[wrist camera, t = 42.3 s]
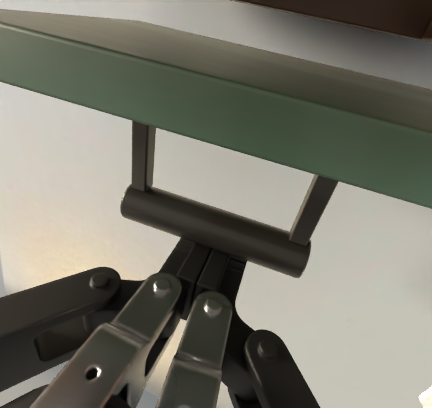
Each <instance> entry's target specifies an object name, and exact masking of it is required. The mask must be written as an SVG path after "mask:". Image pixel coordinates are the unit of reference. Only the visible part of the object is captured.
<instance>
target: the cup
mask: <svg viewBox="0 0 432 408" xmlns="http://www.w3.org/2000/svg"><path fill="white" fill-rule="evenodd" d="M419 399H420V402H421V404H422V405H423V407H424V408H432V387H430V388H429V389H428V390H426V391H425V392H424V393H422V394H421V395H420V396H419Z"/></svg>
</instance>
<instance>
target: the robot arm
mask: <svg viewBox="0 0 432 408" xmlns="http://www.w3.org/2000/svg"><path fill="white" fill-rule="evenodd" d="M246 262H247V261H246V260H244V259H241V258H238V257H235V256H232V255H229V254H227V253H224V252H221V251H218V250H215V249H212V248H210V247H207V246H204V245H201V244H198V243H195V242H193V241H190V240H187V239H184V238H181V239H180V241H179V242H178V243H177V245H176V247H175V248H174V250H173V251H172V253H171V254H170V256H169V257H168V259H167V260H166V262H165V263H164V265H163V266H162V268H161V269H160V271H159V272H158V273H155V274H153V275H151V276H149V277H148V278H147V279H146V280H142V281H133V280H121V278H120V275H119V274H118V272H117V271H115V270H114V269H112V268H108V267H97V268H94V269H90V270H87V271H84V272H81V273H78V274H75V275H71V276H68V277H65V278H62V279H59V280H55V281H52V282H49V283H46V284H43V285H40V286H36V287H33V288H30V289H27V290H24V291H21V292H17V293H14V294H11V295H8V296H5V297H1V298H0V392H1V391H4V390H6V389H8V388H10V387H12V386H14V385H16V384H18V383H20V382H23V381H25V380H27V379H29V378H31V377H33V376H36V375H38V374H40V373H42V372H44V371H46V370H48V369H50V368H52V367H55V366H57V365H59V364H61V363H63V362H65V361H68V360H69V362H68V363H67V364H66V365H65V366H64V367H63V369H62V370H61V371H60V372H59V373H58V375H57V376H56V377H55V378H54V379H53V380H52V382H51V383H50V384H48V385H44V386H42V387H39V388H36V389H34V390H32V391H30V392H28V393H26V394H24V395H22V396H20V397H18V398H16V399H15V400H13V401H11V402H9V403H7V404H5V405H3V406H1V407H0V408H136V406H137V404H138V402H139V400H140V398H141V396H142V393H143V390H144V388H145V385H146V383H147V381H148V379H149V377H150V376H151V374H152V372H153V370H154V369H155V367H156V365H157V363H158V361H159V360H160V358H161V356H162V354H163V353H164V351H165V349H166V347H167V346H168V344H169V342H170V340H171V338H172V336H173V334H174V331H175V329H176V327H177V325H178V323H179V321H180V319H184V320H186V321H187V318H188V316H189V318H188V321H187V324H186V327H185V329H184V332H183V335H182V338H181V341H180V344H179V347H178V350H177V352H176V354H175V355H174V358H173V360H172V363H171V365H170V368H169V371H168V374H167V377H166V379H165V382H164V385H163V388H162V391H161V394H160V396H159V399H158V402H157V405H156V408H216V404H217V399H218V394H219V389H220V383H221V381H222V382H223V383H224V384H225V385H226V386H227V387H228V392H229V395H230V398H231V401H232V404H233V407H234V408H320V406H319V405H318V403H317V401H316V399H315V397H314V396H313V394H312V392H311V390H310V388H309V387H308V385H307V383H306V381H305V379H304V378H303V376H302V374H301V372H300V370H299V369H298V367H297V365H296V363H295V361H294V360H293V358H292V356H291V354H290V352H289V351H288V349H287V347H286V345H285V344H284V342H283V341H282V340H281V338H280V337H279V336H277V335H276V334H275V333H273V332H271V331H268V330H256V331H254V330H253V329H252V328H250V327H249V326H248V325H247V324H245V323H244V322H243V321H242V320H241V319H240V317H239V316H238V314H237V311H236V308H235V300H236V296H237V293H238V290H239V286H240V283H241V279H242V276H243V272H244V269H245V266H246ZM189 314H190V315H189Z"/></svg>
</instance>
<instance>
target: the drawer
mask: <svg viewBox="0 0 432 408" xmlns="http://www.w3.org/2000/svg"><path fill="white" fill-rule="evenodd" d="M232 1H236V2H241V3H246V4H250V5H255V6H260V7H265V8H269V9H274V10H279V11H283V12H288V13H293V14H298V15H302V16H307V17H312V18H316V19H321V20H326V21H331V22H335V23H340V24H345V25H349V26H354V27H359V28H364V29H368V30H373V31H378V32H382V33H387V34H392V35H397V36H401V37H406V38H411V39H415V40H420V41H425V42H430V43H432V0H232ZM0 82H3V83H7V84H10V85H13V86H17V87H20V88H24V89H27V90H30V91H34V92H37V93H41V94H44V95H47V96H51V97H54V98H58V99H61V100H64V101H68V102H71V103H75V104H78V105H81V106H85V107H88V108H92V109H95V110H98V111H102V112H105V113H109V114H112V115H115V116H119V117H122V118H126V119H129V120H132V184H131V185H129V187H128V188H127V189H126V191H125V193H124V195H123V198H122V201H121V214H122V216H123V217H125V218H127V219H130V220H133V221H136V222H139V223H141V224H144V225H147V226H150V227H153V228H156V229H159V230H161V231H164V232H167V233H170V234H173V235H176V236H178V237H181V238H184V239H187V240H190V241H193V242H195V243H198V244H201V245H204V246H207V247H210V248H212V249H215V250H218V251H221V252H224V253H227V254H229V255H232V256H235V257H238V258H241V259H244V260H246V261H249V262H252V263H255V264H258V265H261V266H263V267H266V268H269V269H272V270H275V271H278V272H281V273H283V274H286V275H289V276H292V277H295V278H299V277H300V276H301V275H302V273H303V272H304V270H305V268H306V265H307V262H308V259H309V256H310V251H311V240H310V237H311V235H312V233H313V231H314V229H315V227H316V225H317V223H318V221H319V219H320V217H321V215H322V213H323V211H324V209H325V207H326V205H327V204H328V202H329V200H330V198H331V196H332V194H333V192H334V190H335V188H336V186H337V184H338V182H339V181H340V182H343V183H346V184H350V185H353V186H357V187H360V188H363V189H367V190H370V191H374V192H377V193H380V194H384V195H387V196H391V197H394V198H397V199H401V200H404V201H408V202H411V203H414V204H418V205H421V206H425V207H428V208H431V209H432V90H430V89H426V88H422V87H418V86H413V85H409V84H405V83H401V82H396V81H392V80H388V79H384V78H379V77H375V76H371V75H367V74H362V73H358V72H354V71H350V70H345V69H341V68H337V67H333V66H328V65H324V64H320V63H316V62H311V61H307V60H303V59H299V58H294V57H290V56H286V55H282V54H277V53H273V52H269V51H265V50H260V49H256V48H252V47H248V46H243V45H239V44H235V43H231V42H226V41H222V40H218V39H214V38H209V37H205V36H201V35H197V34H192V33H188V32H184V31H180V30H175V29H171V28H167V27H163V26H158V25H154V24H150V23H146V22H141V21H134V20H122V19H111V18H99V17H87V16H76V15H64V14H52V13H41V12H29V11H17V10H6V9H0ZM156 128H160V129H163V130H166V131H170V132H173V133H177V134H180V135H183V136H187V137H190V138H194V139H197V140H200V141H204V142H207V143H211V144H214V145H217V146H221V147H224V148H228V149H231V150H234V151H238V152H241V153H245V154H248V155H251V156H255V157H258V158H262V159H265V160H268V161H272V162H275V163H279V164H282V165H285V166H289V167H292V168H296V169H299V170H302V171H306V172H309V173H313V174H315V175H314V178H313V180H312V182H311V185H310V187H309V189H308V191H307V194H306V196H305V198H304V201H303V203H302V205H301V207H300V210H299V212H298V214H297V216H296V219H295V221H294V223H293V226H292V228H291V230H290V232H288V231H285V230H282V229H279V228H276V227H273V226H270V225H267V224H264V223H261V222H258V221H255V220H252V219H249V218H246V217H243V216H240V215H237V214H234V213H231V212H228V211H225V210H222V209H219V208H216V207H213V206H209V205H206V204H203V203H200V202H197V201H194V200H191V199H188V198H185V197H182V196H179V195H176V194H173V193H170V192H167V191H164V190H161V189H158V188H155V187H152V184H153V167H154V150H155V133H156Z"/></svg>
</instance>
